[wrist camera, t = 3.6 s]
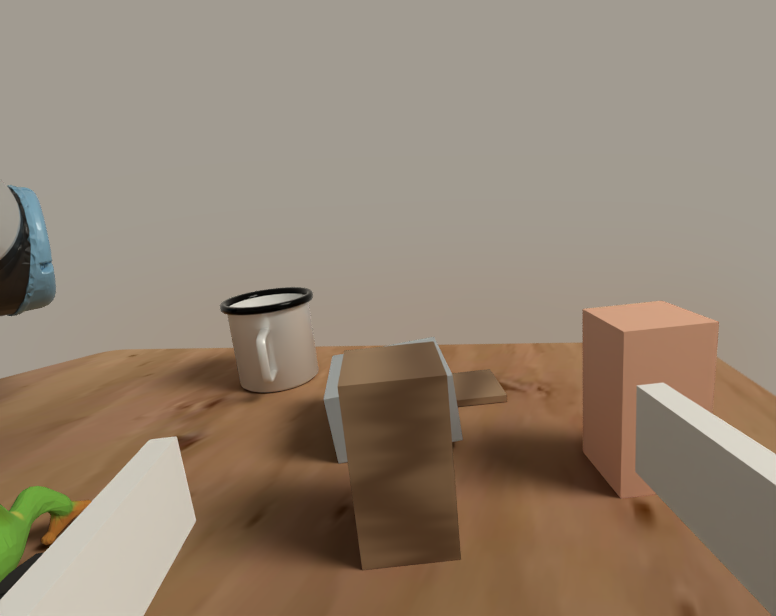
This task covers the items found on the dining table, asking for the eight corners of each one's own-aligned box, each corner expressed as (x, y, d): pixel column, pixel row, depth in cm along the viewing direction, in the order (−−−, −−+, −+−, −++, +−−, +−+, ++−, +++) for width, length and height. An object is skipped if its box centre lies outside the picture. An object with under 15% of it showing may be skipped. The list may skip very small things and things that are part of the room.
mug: (244, 368, 55) (230, 293, 53) (325, 357, 56) (314, 283, 54) (219, 413, 44) (200, 320, 41) (321, 399, 44) (308, 307, 42)
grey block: (338, 463, 33) (323, 399, 32) (344, 407, 42) (332, 356, 41) (462, 439, 33) (452, 375, 32) (442, 389, 42) (433, 336, 41)
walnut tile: (437, 408, 40) (436, 402, 40) (429, 381, 46) (428, 375, 46) (507, 401, 40) (506, 394, 40) (490, 375, 46) (490, 369, 46)
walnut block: (362, 570, 24) (337, 386, 21) (364, 506, 28) (344, 350, 26) (460, 559, 24) (447, 374, 21) (446, 497, 29) (433, 341, 26)
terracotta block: (620, 498, 27) (623, 331, 24) (582, 451, 32) (582, 308, 29) (707, 489, 27) (719, 321, 24) (656, 443, 32) (661, 300, 29)
